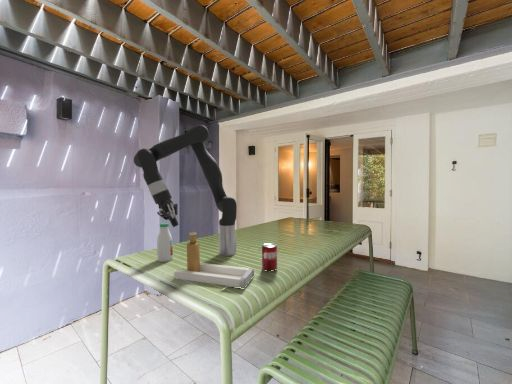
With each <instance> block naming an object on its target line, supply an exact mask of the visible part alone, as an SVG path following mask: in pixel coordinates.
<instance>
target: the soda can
mask: <svg viewBox="0 0 512 384" xmlns="http://www.w3.org/2000/svg"><path fill="white" fill-rule="evenodd" d="M275 269H277V270H278V245H277V244H276V243H272V242H271V243H269V242H268V243H263V244H262V245H261V270H262V271H264V270H267V271H271V270H275Z"/></svg>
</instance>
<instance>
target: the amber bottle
mask: <svg viewBox="0 0 512 384" xmlns="http://www.w3.org/2000/svg"><path fill="white" fill-rule="evenodd" d="M188 235H189V242H187V243H186V268H187V269H186V271H193V272H200V263H201V260H200V242H199V241H197V231H190V232H189V233H188Z"/></svg>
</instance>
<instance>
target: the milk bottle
mask: <svg viewBox="0 0 512 384" xmlns="http://www.w3.org/2000/svg"><path fill="white" fill-rule="evenodd" d="M159 228H160V230H159V233H158V235H157V239H156V240H157V241H156V243H157V250H156V251H157V261H158V262H159V263H166V262H167V261H168V262H170V261H172V260H173V257H174V254H173V253H174V250H173V249H174V248H173V247H174V246H173V237H172V236H173V235H172V234H171V231H170V229H169V228H170V223H168V222H162V223H160V224H159ZM168 262H167V263H168Z"/></svg>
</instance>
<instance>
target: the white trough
mask: <svg viewBox="0 0 512 384" xmlns="http://www.w3.org/2000/svg"><path fill="white" fill-rule="evenodd" d="M173 273H174V275H173V278H174V279H176V280H183V281H190V282H191V281H192V282H197V283H205V284H211V285H220V286H227V287H226V288H228V287H241V288H245V286H246V285H247V284H248V282H249V281H250V280H251V278H252V277H253V276H254V277H255V269H254V268H251V267H242V266H235V265H234V266H231V265H224V264H215V263H205V262H200V272H193V271H187V270H185V269H183V270H182V269H176V270H175V271H173ZM251 281H252V280H251ZM248 285H249V284H248ZM248 285H247V286H248ZM245 289H246V288H245Z"/></svg>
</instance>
